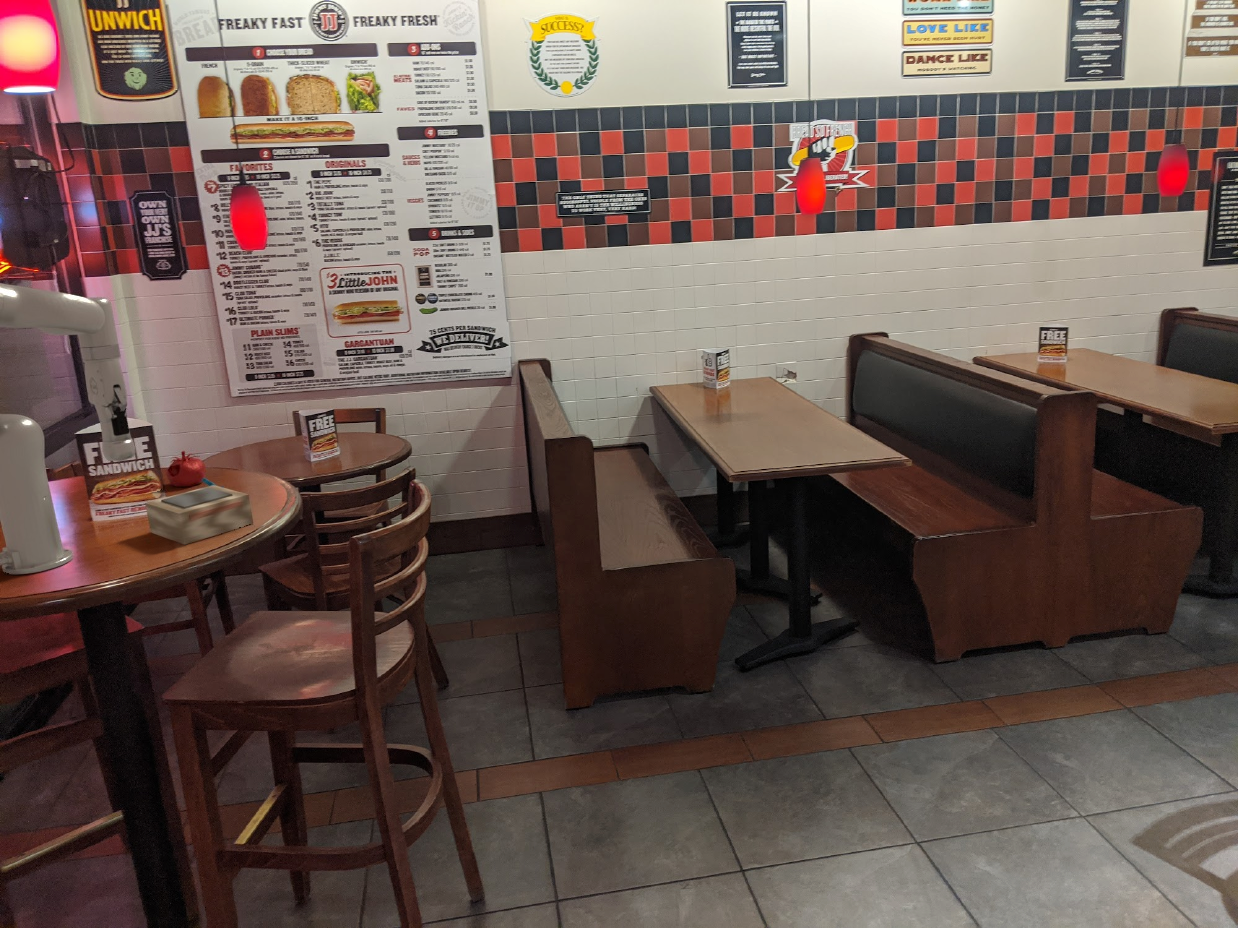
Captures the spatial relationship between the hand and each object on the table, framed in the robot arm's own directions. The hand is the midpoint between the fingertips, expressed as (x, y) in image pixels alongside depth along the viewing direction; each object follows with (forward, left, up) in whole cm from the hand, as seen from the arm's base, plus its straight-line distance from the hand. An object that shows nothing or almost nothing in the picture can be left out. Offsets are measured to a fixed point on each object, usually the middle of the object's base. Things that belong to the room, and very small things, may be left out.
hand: (115, 432), depth 209 cm
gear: (+20, -4, -22) cm, 30 cm away
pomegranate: (+25, +25, -22) cm, 42 cm away
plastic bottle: (0, 0, -7) cm, 7 cm away
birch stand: (+7, -18, -22) cm, 29 cm away
